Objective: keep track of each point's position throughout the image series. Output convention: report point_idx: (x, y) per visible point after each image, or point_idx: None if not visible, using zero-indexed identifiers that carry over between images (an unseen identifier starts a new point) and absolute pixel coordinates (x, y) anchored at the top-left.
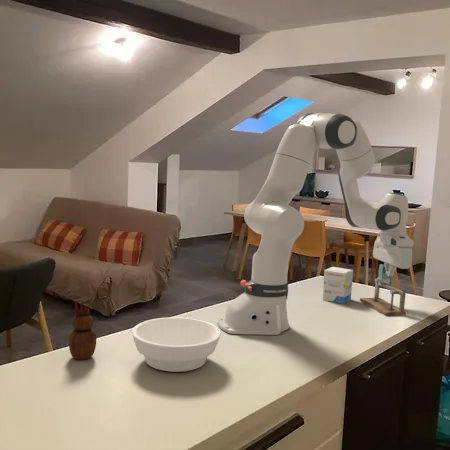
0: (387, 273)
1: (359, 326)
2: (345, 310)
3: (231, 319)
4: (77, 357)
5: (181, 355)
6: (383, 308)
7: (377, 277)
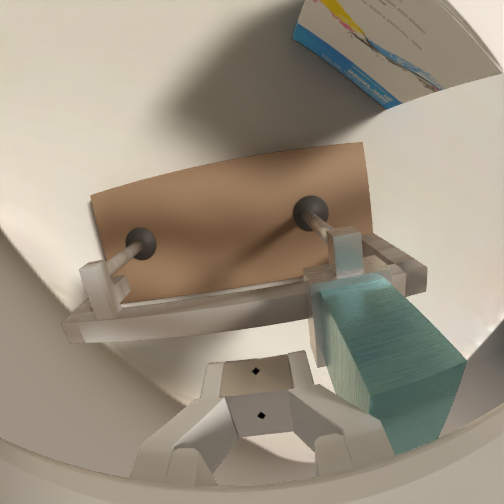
0: (258, 369)
1: (6, 71)
2: (174, 21)
3: None
4: None
5: None
6: (152, 206)
7: (385, 269)
